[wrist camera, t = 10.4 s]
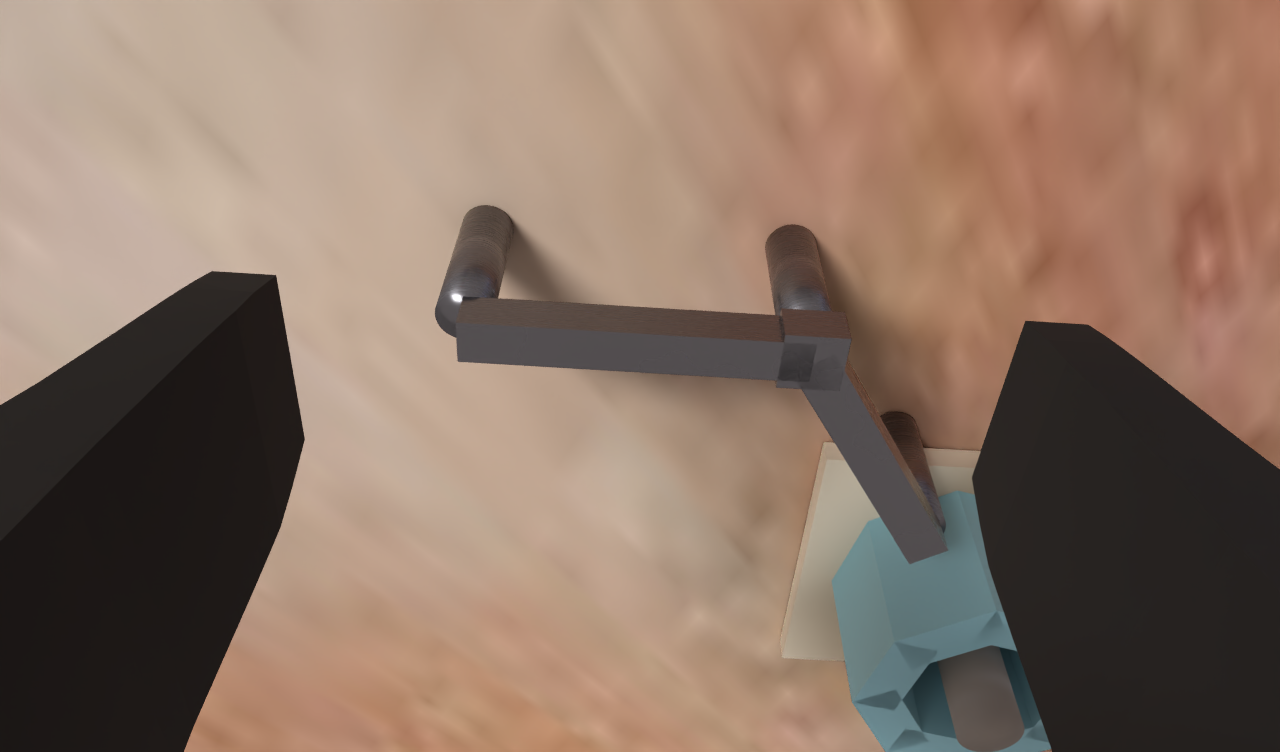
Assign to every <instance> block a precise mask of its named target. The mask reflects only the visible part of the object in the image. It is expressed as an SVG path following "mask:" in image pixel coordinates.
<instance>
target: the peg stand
mask: <svg viewBox="0 0 1280 752" xmlns="http://www.w3.org/2000/svg"><path fill="white" fill-rule="evenodd" d="M923 449H924V452H925V456H926V459H927V462H928V466H929V469H930V472H931V476H932V479H933V482H934V486H935V489H936V492H937V495H938V497H940V496H943V495H946V494H949V493H952V492H954V491H957V490H958V491H962V492H966V493H970V494H974V488H973V482H972V475H973V472H974V469H975V466H976V464H977V461H978V458H979V455H980V452H981V451H970V450H952V449H935V448H923ZM974 495H975V494H974ZM879 517H880V516H879V514H878V513H877V511H876V509H875V508H874V506H873V504H872V503H871V501H870V500H869V498H868V496H867V495H866V493H865V491H864V490H863V488H862V487H861V485H860V483H859V482H858V480H857V478H856V477H855V475H854V474H853V472H852V470H851V469H850V467H849V465H848V464H847V462H846V461H845V459H844V457H843V456H842V454H841V452H840V451H839V449H838V448H837V446H836V444H835V443H832V442H824V443H823V447H822V452H821V456H820V461H819V465H818V470H817V474H816V479H815V484H814V488H813V493H812V497H811V502H810V506H809V511H808V515H807V520H806V524H805V529H804V533H803V538H802V542H801V547H800V551H799V556H798V561H797V565H796V570H795V574H794V579H793V583H792V588H791V592H790V597H789V601H788V606H787V610H786V615H785V619H784V624H783V628H782V633H781V638H780V644H781V653H782V658H791V659H810V660H828V661H845V658H844V652H843V646H842V640H841V634H840V628H839V622H838V616H837V610H836V605H835V599H834V593H833V587H832V579H833V578H834V576H835V574H836V573H837V571H838V569H839V568H840V566H841V565H842V563H843V561H844V560H845V558H846V556H847V555H848V553H849V551H850V550H851V548H852V547H853V545H854V543H855V542H856V540H857V538H858V537H859V535H860V534H861V532H862V530H863V529H864V527H865V525H866V524H867V522H868V521H870V520H873V519H876V518H879ZM937 663H938V667H939V671H940V675H941V679H942V683H943V687H944V691H945V694H946V698H947V702H948V706H949V710H950V714H951V718H952V722H953V726H954V730H955V734H956V738H957V741H958V742H959V744H960V745H961V746H963V747H964V748H966V749H969V750H972V751H976V752H993V751H999V750H1002V749H1005V748H1008V747H1010V746H1012V745H1013V744H1015V743H1016V742H1018V741H1019V740H1020V739H1021V737H1022V736H1023V734H1024V730H1025V729H1024V724H1023V721H1022V718H1021V715H1020V712H1019V708H1018V705H1017V702H1016V699H1015V696H1014V693H1013V690H1012V686H1011V683H1010V680H1009V677H1008V674H1007V671H1006V667H1005V664H1004V661H1003V658H1002V655H1001V652H1000V648H999V647H997V646H993V645H990V646H987V647H983V648H980V649H976V650H973V651H970V652H966V653H963V654H960V655H956V656H953V657H949V658H946V659H943V660H939V661H937Z"/></svg>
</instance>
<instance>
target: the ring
mask: <svg viewBox="0 0 1280 752" xmlns="http://www.w3.org/2000/svg"><path fill="white" fill-rule="evenodd" d="M938 499H939V502H940V505H941V509H942V512H943V515H944V519H945V522H946V529H945V532H944V533H943V534H944V538H945V541H946V544H947V548H948V551H946V552H943V553H940V554H937V555H934V556H932V557H929V558H926V559H923V560H920V561H917V562H915V563H912V564H909V563H908V561H907V560H906V558H905V556H904V555H903V553H902V552H901V550H900V548H899V547H898V545H897V543H896V542H895V540H894V539H893V537H892V535H891V534H890V532H889V530H888V529H887V527H886V526H885V524H884V522H883V521H882V519H881V517H879V518H876V519H873V520H870V521H868V522H867V524H866V525H865V527H864V529H863V530H862V532H861V534H860V535H859V537H858V538H857V540H856V542H855V543H854V545H853V547H852V548H851V550H850V551H849V553H848V555H847V556H846V558H845V560H844V561H843V563H842V565H841V566H840V568H839V569H838V571H837V573H836V574H835V576H834V578H833V579H832V587H833V593H834V599H835V605H836V610H837V616H838V622H839V628H840V634H841V640H842V646H843V652H844V658H845V664H846V669H847V675H848V681H849V687H850V693H851V699H852V703H853V704H854V706H855V707H856V709H857V710H858V712H859V713H860V715H861V716H862V718H863V719H864V721H865V722H866V724H867V725H868V726H869V728H870V729H871V731H872V732H873V734H874V735H875V737H876V738H877V740H878V741H879V743H880V744H881V746H882V747H883V749H884V750H885V752H976V751H972V750H969V749H966V748H964V747H963V746H961V745H960V744H959V742H958V741H957V738H956V734H955V730H954V726H953V722H952V718H951V714H950V710H949V706H948V702H947V698H946V694H945V691H944V687H943V683H942V679H941V675H940V671H939V667H938V663H937V661H939V660H943V659H946V658H949V657H953V656H956V655H960V654H963V653H966V652H970V651H973V650H976V649H980V648H983V647H987V646H990V645H993V646H997V647H999V648H1000V652H1001V655H1002V658H1003V661H1004V664H1005V667H1006V671H1007V674H1008V677H1009V680H1010V683H1011V686H1012V690H1013V693H1014V696H1015V699H1016V702H1017V705H1018V708H1019V712H1020V715H1021V718H1022V721H1023V724H1024V729H1025V730H1024V734H1023V736H1022V737H1021V739H1020V740H1019V741H1018V742H1016V743H1015V744H1013V745H1012V746H1010V747H1008V748H1005V749H1002V750H999V751H993V752H1041V751H1045V750H1049V749H1051V746H1050V743H1049V741H1048V738H1047V735H1046V732H1045V729H1044V726H1043V723H1042V721H1041V718H1040V715H1039V712H1038V709H1037V706H1036V703H1035V701H1034V698H1033V695H1032V692H1031V689H1030V686H1029V684H1028V681H1027V678H1026V675H1025V672H1024V669H1023V666H1022V664H1021V661H1020V658H1019V655H1018V652H1017V649H1016V646H1015V644H1014V641H1013V638H1012V635H1011V632H1010V629H1009V626H1008V623H1007V620H1006V617H1005V614H1004V611H1003V609H1002V606H1001V603H1000V600H999V597H998V594H997V591H996V588H995V585H994V582H993V579H992V576H991V572H990V569H989V566H988V561H987V557H986V552H985V547H984V542H983V538H982V533H981V528H980V523H979V517H978V511H977V505H976V500H975V495H974V494H970V493H966V492H962V491H958V490H957V491H954V492H952V493H949V494H946V495H943V496H940V497H938Z"/></svg>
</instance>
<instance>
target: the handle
mask: <svg viewBox="0 0 1280 752" xmlns="http://www.w3.org/2000/svg"><path fill="white" fill-rule="evenodd" d="M512 235H513V225H512V222H511V220H510V218H509V217H508V215H507V214H506V213H505V212H503V211H502V210H500V209H499V208H496V207H494V206H488V205H482V206H477V207H475V208H473V209H471V210H470V211H469V212H468V213H467V214H466V215H465V217H464V219H463V222H462V226H461V229H460V232H459V235H458V238H457V241H456V245H455V248H454V251H453V254H452V257H451V261H450V264H449V267H448V270H447V273H446V276H445V280H444V283H443V286H442V289H441V292H440V296H439V299H438V302H437V305H436V309H435V317H436V320H437V322H438V324H439V326H440V327H441V328H442V329H443V330H444V331H445V332H446V333H448V334H449V335H451V336H453V337H456V338H457V356H458V362H473V363H490V364H507V365H524V366H541V367H557V368H574V369H591V370H608V371H625V372H642V373H659V374H675V375H692V376H709V377H726V378H743V379H760V380H775V383H776V387H777V388H793V389H802V391H803V392H804V394H805V396H806V397H807V399H808V400H809V402H810V404H811V405H812V407H813V409H814V410H815V412H816V413H817V415H818V417H819V418H820V420H821V422H822V423H823V425H824V426H825V428H826V430H827V431H828V433H829V435H830V436H831V438H832V439H833V441H834V443H835V444H836V446H837V448H838V449H839V451H840V452H841V454H842V456H843V457H844V459H845V461H846V462H847V464H848V465H849V467H850V469H851V470H852V472H853V474H854V475H855V477H856V478H857V480H858V482H859V483H860V485H861V487H862V488H863V490H864V491H865V493H866V495H867V496H868V498H869V500H870V501H871V503H872V504H873V506H874V508H875V509H876V511H877V513H878V514H879V516H880V517H881V519H882V521H883V522H884V524H885V526H886V527H887V529H888V530H889V532H890V534H891V535H892V537H893V539H894V540H895V542H896V543H897V545H898V547H899V548H900V550H901V552H902V553H903V555H904V556H905V558H906V560H907V561H908V563H909V564H912V563H915V562H917V561H920V560H923V559H926V558H929V557H932V556H934V555H937V554H940V553H943V552H946V551H948V548H947V544H946V541H945V538H944V534H943V533H944V532H945V529H946V522H945V519H944V515H943V512H942V509H941V505H940V502H939V499H938V495H937V492H936V489H935V486H934V482H933V479H932V476H931V472H930V469H929V466H928V462H927V459H926V456H925V452H924V449H923V446H922V442H921V439H920V436H919V433H918V429H917V426H916V423H915V420H914V419H913V418H912V417H911V416H910V415H908V414H906V413H903V412H890V413H887V414H884V415H882V416H879V414H878V412H877V410H876V409H875V407H874V405H873V403H872V402H871V400H870V398H869V396H868V395H867V393H866V391H865V389H864V388H863V386H862V384H861V382H860V381H859V379H858V377H857V375H856V374H855V372H854V370H853V368H852V367H851V365H850V363H849V361H848V360H847V357H848V353H849V348H850V344H851V335H850V331H849V327H848V323H847V319H846V315H845V312H833V311H832V309H831V305H830V301H829V296H828V292H827V288H826V284H825V279H824V275H823V271H822V266H821V262H820V258H819V253H818V249H817V245H816V241H815V238H814V236H813V234H812V233H811V232H810V231H809V230H808V229H807V228H805V227H803V226H799V225H786V226H782V227H780V228H778V229H776V230H775V231H774V232H773V233H772V234H771V235H770V236H769V238H768V239H767V242H766V246H765V250H766V257H767V264H768V270H769V277H770V283H771V290H772V296H773V303H774V309H775V315H762V314H746V313H729V312H713V311H696V310H680V309H663V308H647V307H630V306H614V305H597V304H581V303H565V302H548V301H532V300H515V299H499V298H498V296H499V291H500V287H501V283H502V278H503V274H504V270H505V265H506V261H507V257H508V252H509V248H510V244H511V239H512Z"/></svg>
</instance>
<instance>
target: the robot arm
mask: <svg viewBox="0 0 1280 752" xmlns="http://www.w3.org/2000/svg"><path fill="white" fill-rule="evenodd" d="M304 440H305V438H304V432H303V427H302V421H301V415H300V409H299V404H298V398H297V392H296V387H295V381H294V375H293V369H292V364H291V358H290V352H289V346H288V341H287V335H286V329H285V324H284V318H283V312H282V306H281V301H280V295H279V289H278V284H277V278H276V275H264V274H248V273H232V272H215V271H212V272H210V273H208V274H206V275H204V276H203V277H201V278H199V279H197V280H195V281H194V282H192V283H190V284H189V285H187V286H185V287H184V288H182V289H181V290H179V291H177V292H176V293H174V294H173V295H171V296H170V297H168V298H167V299H165V300H164V301H162V302H160V303H159V304H157V305H156V306H154V307H153V308H151V309H150V310H148V311H147V312H145V313H144V314H142V315H141V316H139V317H138V318H136V319H135V320H133V321H132V322H130V323H129V324H127V325H126V326H124V327H123V328H121V329H120V330H118V331H117V332H115V333H114V334H112V335H111V336H109V337H108V338H106V339H104V340H103V341H101V342H100V343H98V344H97V345H95V346H94V347H92V348H91V349H89V350H88V351H86V352H85V353H83V354H81V355H80V356H78V357H77V358H75V359H74V360H72V361H71V362H69V363H68V364H66V365H65V366H63V367H62V368H60V369H58V370H57V371H55V372H54V373H52V374H51V375H49V376H48V377H46V378H45V379H43V380H41V381H40V382H38V383H37V384H35V385H33V386H32V387H30V388H28V389H27V390H25V391H23V392H22V393H20V394H18V395H17V396H15V397H13V398H12V399H10V400H8V401H7V402H5V403H3V404H2V405H0V752H184V750H185V747H186V745H187V742H188V739H189V737H190V734H191V732H192V729H193V727H194V724H195V722H196V720H197V717H198V715H199V713H200V711H201V708H202V706H203V704H204V702H205V699H206V697H207V695H208V692H209V690H210V688H211V686H212V683H213V681H214V679H215V677H216V674H217V672H218V670H219V668H220V665H221V663H222V661H223V658H224V656H225V654H226V652H227V649H228V647H229V645H230V643H231V640H232V638H233V636H234V634H235V631H236V629H237V627H238V624H239V622H240V620H241V618H242V615H243V613H244V611H245V609H246V606H247V604H248V602H249V600H250V597H251V595H252V593H253V590H254V588H255V586H256V583H257V581H258V579H259V576H260V574H261V572H262V569H263V567H264V565H265V563H266V560H267V558H268V556H269V553H270V551H271V549H272V546H273V544H274V541H275V539H276V537H277V534H278V532H279V529H280V527H281V524H282V520H283V517H284V513H285V510H286V507H287V503H288V500H289V496H290V493H291V489H292V486H293V482H294V478H295V474H296V471H297V467H298V463H299V459H300V455H301V452H302V448H303V444H304ZM972 482H973V488H974V494H975V500H976V505H977V511H978V517H979V523H980V528H981V533H982V538H983V542H984V547H985V552H986V557H987V561H988V566H989V569H990V572H991V576H992V579H993V582H994V585H995V588H996V591H997V594H998V597H999V600H1000V603H1001V606H1002V609H1003V611H1004V614H1005V617H1006V620H1007V623H1008V626H1009V629H1010V632H1011V635H1012V638H1013V641H1014V644H1015V646H1016V649H1017V652H1018V655H1019V658H1020V661H1021V664H1022V666H1023V669H1024V672H1025V675H1026V678H1027V681H1028V684H1029V686H1030V689H1031V692H1032V695H1033V698H1034V701H1035V703H1036V706H1037V709H1038V712H1039V715H1040V718H1041V721H1042V723H1043V726H1044V729H1045V732H1046V735H1047V738H1048V741H1049V743H1050V746H1051V749H1052V752H1280V469H1278V468H1277V467H1276V466H1274V465H1273V464H1272V463H1270V462H1269V461H1268V460H1266V459H1265V458H1264V457H1262V456H1261V455H1260V454H1258V453H1257V452H1256V451H1254V450H1253V449H1252V448H1250V447H1249V446H1248V445H1247V444H1245V443H1244V442H1243V441H1241V440H1240V439H1239V438H1237V437H1236V436H1235V435H1234V434H1232V433H1231V432H1230V431H1228V430H1227V429H1226V428H1224V427H1223V426H1222V425H1221V424H1219V423H1218V422H1217V421H1215V420H1214V419H1213V418H1212V417H1210V416H1209V415H1208V414H1206V413H1205V412H1204V411H1203V410H1201V409H1200V408H1199V407H1198V406H1196V405H1195V404H1194V403H1192V402H1191V401H1190V400H1189V399H1187V398H1186V397H1185V396H1184V395H1182V394H1181V393H1180V392H1178V391H1177V390H1176V389H1175V388H1173V387H1172V386H1171V385H1170V384H1168V383H1167V382H1166V381H1164V380H1163V379H1162V378H1161V377H1159V376H1158V375H1157V374H1155V373H1154V372H1153V371H1152V370H1150V369H1149V368H1148V367H1146V366H1145V365H1144V364H1143V363H1141V362H1140V361H1139V360H1137V359H1136V358H1135V357H1133V356H1132V355H1131V354H1129V353H1128V352H1127V351H1125V350H1124V349H1123V348H1121V347H1120V346H1119V345H1117V344H1116V343H1115V342H1113V341H1112V340H1110V339H1109V338H1107V337H1106V336H1105V335H1103V334H1102V333H1100V332H1099V331H1097V330H1095V329H1094V328H1092V327H1091V326H1089V325H1084V324H1068V323H1051V322H1035V321H1025V324H1024V327H1023V329H1022V332H1021V335H1020V338H1019V341H1018V344H1017V347H1016V350H1015V353H1014V356H1013V359H1012V362H1011V364H1010V367H1009V370H1008V373H1007V376H1006V379H1005V382H1004V385H1003V388H1002V391H1001V394H1000V397H999V399H998V402H997V405H996V408H995V411H994V414H993V417H992V420H991V423H990V426H989V429H988V432H987V434H986V437H985V440H984V443H983V446H982V449H981V452H980V455H979V458H978V461H977V464H976V466H975V469H974V472H973V475H972Z"/></svg>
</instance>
